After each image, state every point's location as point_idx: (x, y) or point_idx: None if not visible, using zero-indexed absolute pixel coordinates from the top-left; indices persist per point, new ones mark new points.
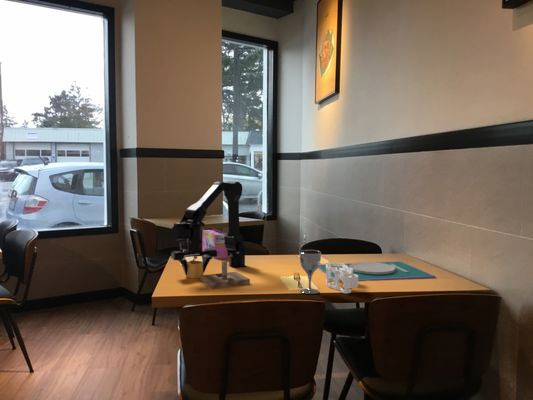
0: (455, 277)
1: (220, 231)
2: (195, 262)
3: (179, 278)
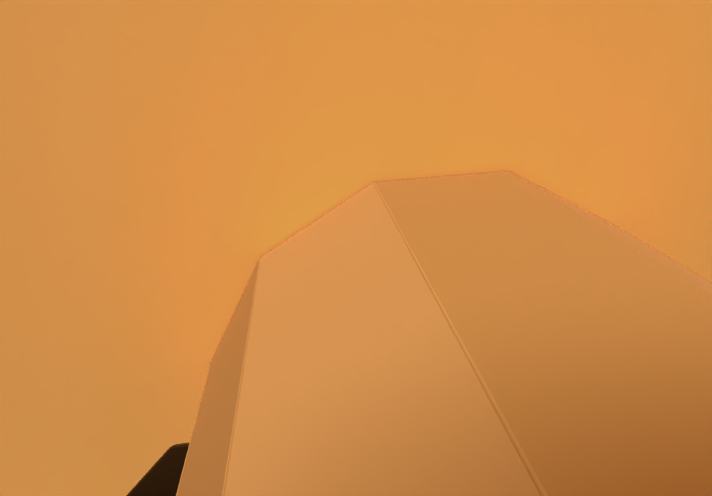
0: None
1: None
2: None
3: (18, 445)
